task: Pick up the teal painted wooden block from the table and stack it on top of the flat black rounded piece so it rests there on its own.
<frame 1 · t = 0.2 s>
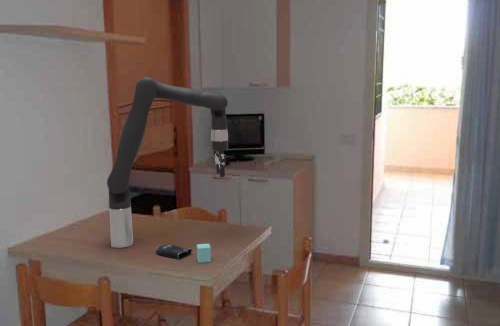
hand: (220, 175, 224), 29 cm above the table, tool pointing down, fingers open, 8 cm apart
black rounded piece: (172, 254, 208), on the table
teal block: (204, 260, 200), on the table
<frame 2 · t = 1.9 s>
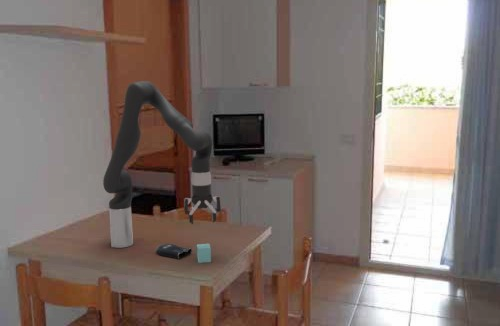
hand: (202, 222, 197), 16 cm above the table, tool pointing down, fingers open, 8 cm apart
nothing on the table moved.
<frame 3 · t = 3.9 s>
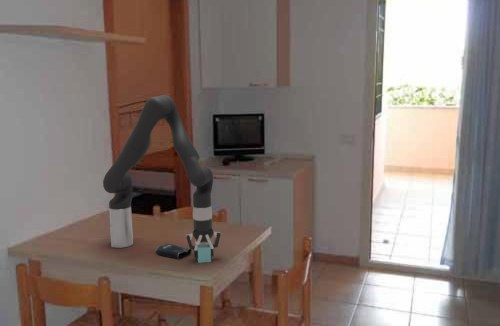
hand: (204, 257, 200), 1 cm above the table, tool pointing down, fingers closed on teal block, 5 cm apart
teal block: (204, 260, 200), on the table, touching gripper
everything else where it was.
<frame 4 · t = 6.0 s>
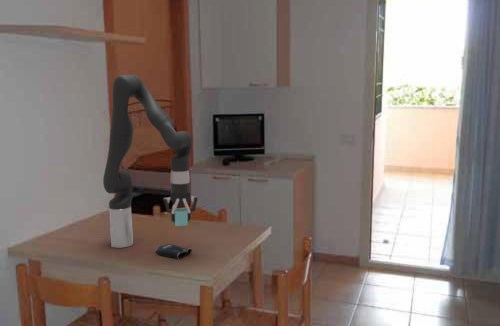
hand: (181, 221, 203), 15 cm above the table, tool pointing down, fingers closed on teal block, 5 cm apart
teal block: (181, 223, 203), point 14 cm above the table, touching gripper
everything else where it was.
when the fingers open (7 cm above the table, at t = 8.2 s): teal block drops 3 cm, resting on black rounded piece.
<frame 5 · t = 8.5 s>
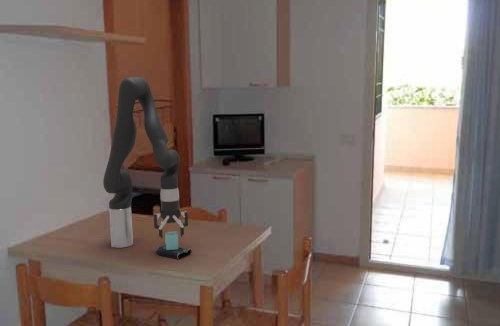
hand: (171, 236, 207), 7 cm above the table, tool pointing down, fingers open, 7 cm apart
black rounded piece: (172, 255, 208), on the table, touching teal block
teal block: (172, 247, 208), point 3 cm above the table, touching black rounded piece
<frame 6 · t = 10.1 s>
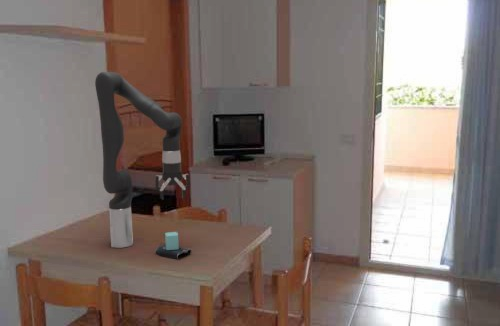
hand: (173, 198, 209), 22 cm above the table, tool pointing down, fingers open, 8 cm apart
nothing on the table moved.
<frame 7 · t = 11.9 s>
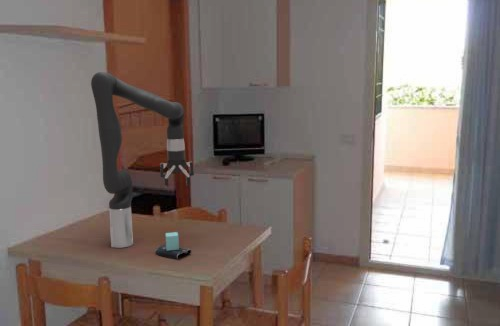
hand: (177, 185, 216), 26 cm above the table, tool pointing down, fingers open, 8 cm apart
nothing on the table moved.
at the end: teal block inside the target area on the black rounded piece (0.6 cm from its centre), point 3.3 cm above the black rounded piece's base; teal block touching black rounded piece; teal block tilted 0° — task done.
